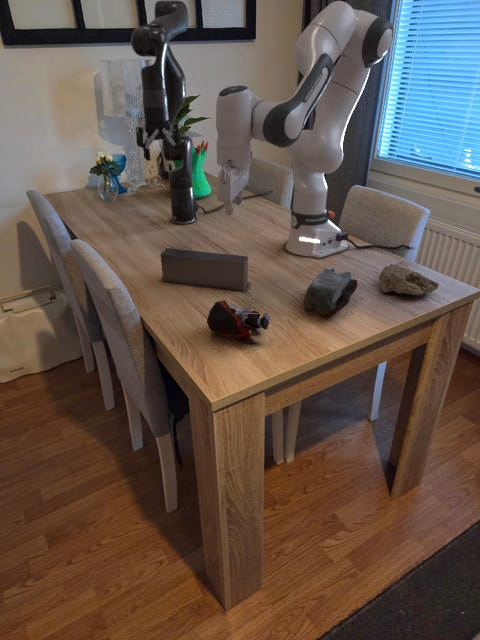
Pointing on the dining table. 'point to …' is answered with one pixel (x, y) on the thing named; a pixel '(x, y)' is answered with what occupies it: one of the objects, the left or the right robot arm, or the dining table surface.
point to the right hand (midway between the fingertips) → (233, 209)
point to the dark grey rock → (330, 292)
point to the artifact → (405, 280)
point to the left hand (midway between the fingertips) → (160, 158)
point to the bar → (205, 269)
